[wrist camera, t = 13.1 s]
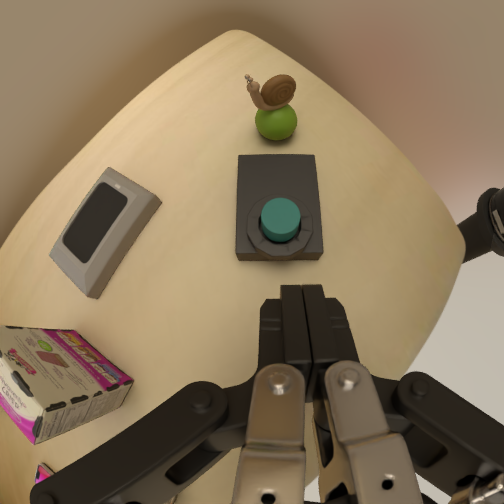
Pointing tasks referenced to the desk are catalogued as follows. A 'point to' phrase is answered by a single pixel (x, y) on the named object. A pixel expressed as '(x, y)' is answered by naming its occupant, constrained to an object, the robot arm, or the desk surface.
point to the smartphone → (42, 473)
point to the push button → (280, 219)
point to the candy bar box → (55, 381)
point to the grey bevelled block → (103, 231)
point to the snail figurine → (274, 106)
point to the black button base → (270, 187)
